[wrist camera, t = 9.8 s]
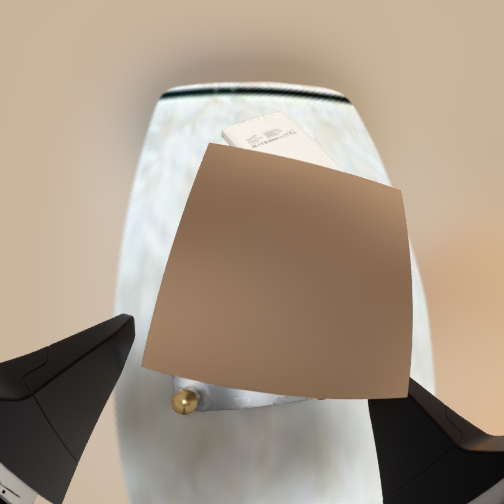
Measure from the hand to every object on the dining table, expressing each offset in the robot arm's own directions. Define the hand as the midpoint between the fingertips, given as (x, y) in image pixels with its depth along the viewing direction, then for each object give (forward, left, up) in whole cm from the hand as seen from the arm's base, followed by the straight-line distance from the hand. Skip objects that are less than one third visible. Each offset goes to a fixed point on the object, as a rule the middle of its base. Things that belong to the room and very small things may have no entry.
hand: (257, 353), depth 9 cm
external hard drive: (+19, +4, -11) cm, 22 cm away
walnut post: (+1, 0, -9) cm, 9 cm away
